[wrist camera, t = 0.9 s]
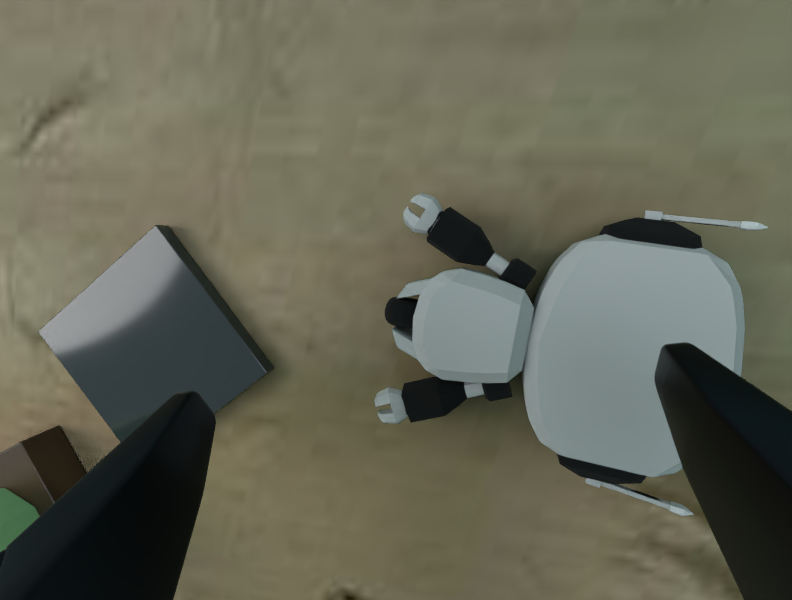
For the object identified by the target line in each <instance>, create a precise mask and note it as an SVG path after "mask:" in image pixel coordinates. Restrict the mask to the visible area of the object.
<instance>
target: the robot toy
mask: <svg viewBox="0 0 792 600" xmlns="http://www.w3.org/2000/svg"><path fill="white" fill-rule="evenodd" d="M411 202H412V203H414V204H417V205H419V206H421V207H422V208H424V209H426V210H425V211H424V213H423V214H422V216H421V217H420V218H419V217H418V216H416V215H415V214H414V213H413V212H411V210H410V209H409V208H406V209H405V211H404V214H403V215H404V223H405V224H406V225H407V226H408V227H409V228H410V229H411V230H412V231H413V232H417V233H425V234H429V235H428V237H427V242H428V243H430V244H431V245H433V246H434V247H436V248H437V249H439V250H440V251H441V252H443V253H444V254H446V255H447V256H449V257H450V258H452V259H453V260H455V261H456V262H460V263H466V264H472V265H481V266H486V267H488V268H489V269H490V270H492V271H493V272H495V273H496V274H498V275H499V276H500V277H496V276H493V275H490V274H487V273H483V272H480V271H476V270H472V269H469V268H465V267H464V268H458V269H452V270H446V271H443V272H441V273H439V274H438V275H436V276H435V277H433V278H429V279H423V280H418V281H414V282H411V283H407V284H406V286H405V287H404V289H403V290H402V291H401V293H400V294H399V296H398V297H393V298H391V299H390V300H389V301H388V303H387V305H386V308H385V317H386V320H387V321H388V323H390V324H392V325H395V326H396V327H394V328H393V329H392V333H393V336H394V339H395V342H396V345H397V347H398V348H400V349H401V350H403V351H404V352H406V353H408V354H409V355H411V356H413V357H414V358H416V359H417V360H418V361H419V362H420V363H421V365H422V366H423V367H424V369H425V370H426V371H428V372H430V373H432V374H433V375H435V376H436V377H431V378H427V379H422V380H418V381H413V382H409V383H404V386H403V390H398V389H394V388H390V387H388V388H386V389H384V390H382V391H380V392H378V393H377V395H376V398H375V406H376V407H378V406H381V405H385V404H391V409H386V410H379V412H378V416H379V418H380V419H381V420H382V421H383V422H384V423H400V422H401V421H403V420H404V419H405V418H406V417H409V420H410V422H416V421H421V420H426V419H431V418H436V417H441V416H445V415H447V414H448V413H450V412H451V411H452V410H454V409H455V408H456V407H457V406H459V405H460V404H461V403H462V402H464V401H465V400H466V399H467V398H470V397H475V396H479V395H485V398H486V399H488V400H489V401H494V400H499V399H504V398H509V397H512V393H511V388H510V384H509V381H510V380H511V379H512V378H513V377H514V376H516V375H517V374H518V373H519V372H521V371H522V382H523V392H524V399H525V404H526V409H527V413H528V418H529V421H530V423H531V425H532V427H533V429H534V431H535V433H536V435H537V437H538V439H539V441H540V442H541V443H543V444H544V445H545V446H547V447H548V448H550V449H551V450H553V451H554V452H556V453H557V456H558V459H559V462H560V464H561V465H563V466H564V467H566V468H568V469H569V470H571V471H572V472H574V473H576V474H577V475H579V476H581V477H585V478H586V481H585V483H587V484H590V485H592V486H595V487H598V488H600V485H601V486H604V487H607V488H610V489H613V490H616V491H619V492H621V493H624V494H627V495H630V496H633V497H636V498H638V499H641V500H644V501H647V502H650V503H653V504H655V505H658V506H661V507H664V508H667V509H669V510H670V511H671V512H674V513H677V514H680V515H682V516H685V515H693V513H692V512H691V511H690V510H688V509H687V508H686V507H685V506H683V505H681V504H678V503H675V502H672V501H670V502H668V501H665V500H662V499H659V498H656V497H653V496H650V495H647V494H645V493H642V492H639V491H636V490H633V489H630V488H627V487H624V486H621V485H618V484H631V483H642V481H643V480H644V479H645V478H646V476H650V477H656V476H662V475H668V474H674V473H676V472H678V471H679V470H681V469H682V468H683V467H682V464H681V461H680V459H679V456H678V453H677V450H676V447H675V444H674V441H673V438H672V435H671V432H670V429H669V426H668V423H667V420H666V417H665V414H664V411H663V408H662V405H661V402H660V399H659V396H658V393H657V390H656V386H655V381H654V375H655V370H656V366H657V362H658V358H659V354H660V350H661V348H662V347H663V346H664V345H665V344H672V343H682V342H687V343H691V344H693V345H695V346H696V347H698V348H699V349H701V350H702V351H704V352H705V353H706V354H708V355H709V356H711V357H712V358H714V359H715V360H717V361H718V362H720V363H721V364H723V365H724V366H726V367H727V368H729V369H730V370H732V371H733V372H734V373H736V374H737V375H739V376H740V377H741V372H742V359H743V347H744V334H745V320H744V305H743V298H742V293H741V288H740V286H739V284H738V282H737V280H736V278H735V276H734V274H733V272H732V270H731V268H730V266H729V264H728V263H727V262H726V261H724V260H722V259H721V258H719V257H717V256H716V255H714V254H712V253H711V252H709V251H707V250H706V249H704V248H702V242H701V236H699V235H697V234H695V233H694V232H692V231H690V230H688V229H686V228H684V227H682V226H681V225H679V224H677V223H675V222H668V221H677V222H687V223H697V224H706V225H716V226H726V227H736V228H739V229H744V230H754V231H755V230H760V229H765V228H768V227H766V226H764V225H762V224H760V223H758V222H747V221H742V222H735V221H724V220H714V219H704V218H693V217H683V216H673V215H662V214H663V212H658V211H647V210H646V213H645V218H633V219H628V220H624V221H620V222H617V223H613V224H610V225H607V226H604V227H603V229H602V231H601V232H600V234H599V236H596V237H592V238H589V239H586V240H582V241H579V242H576V243H573V244H572V245H571V246H570V247H569V248H568V249H567V250H566V251H565V252H563V253H562V254H561V255H560V256H559V257H558V258H557V259H556V260H555V262H554V263H553V265H552V266H551V267H550V269H549V270H548V272H547V274H546V276H545V278H544V280H543V282H542V284H541V286H540V288H539V290H538V292H537V295H536V297H535V300H534V303H533V305H532V303H531V301H530V299H529V297H528V296H527V294H526V292H525V290H524V289H525V288H526V287H527V285H528V284H529V283H530V281H531V280H532V278H533V277H534V276H535V274H536V270H535V269H533V268H532V267H530V266H529V265H527V264H526V263H524V262H523V261H521V260H520V259H518V258H517V259H513V260H511V262H508V261H507V260H505V259H504V258H502V257H501V256H499V255H498V254H496V253H495V252H494V250H493V248H492V246H491V244H490V242H489V240H488V239H487V237H486V235H485V234H484V232H483V230H482V229H481V227H479V226H478V225H476V224H475V223H473V222H472V221H470V220H469V219H467V218H466V217H464V216H463V215H461V214H460V213H458V212H457V211H455V210H454V209H452V208H451V207H449V208H447V209H446V210H445V211H444V212H443V210H442V208H441V206H440V205H439V203H438V201H437V199H436V198H435V197H432V196H430V195H427V194H424V193H421V194H419V195H416V196H414V197H413V198H412V200H411ZM661 220H667V221H661ZM418 294H420V296H419V299H418V300H417V299H413V298H406V297H407V296H413V295H418Z"/></svg>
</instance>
